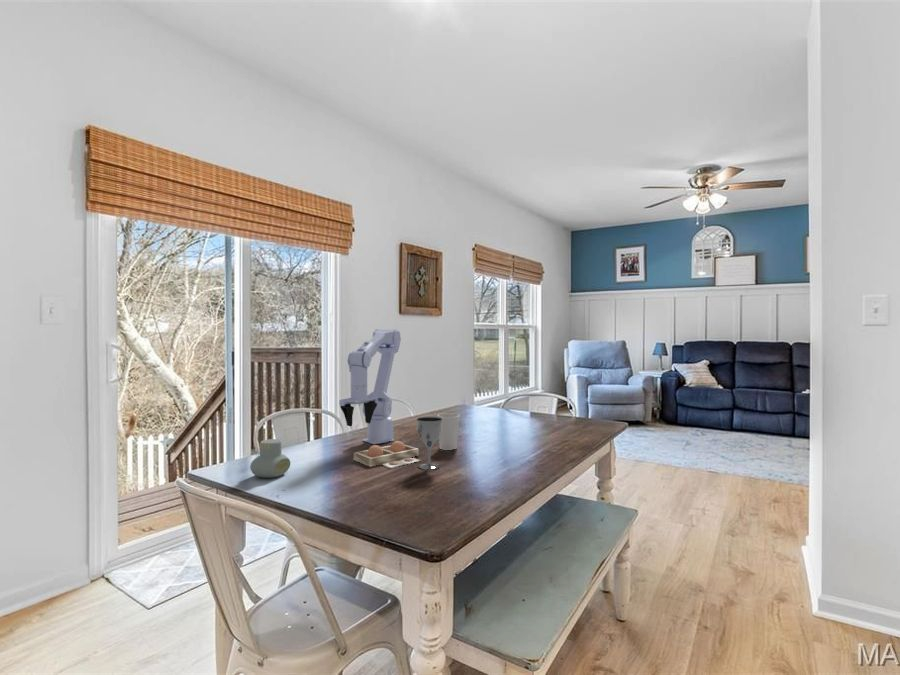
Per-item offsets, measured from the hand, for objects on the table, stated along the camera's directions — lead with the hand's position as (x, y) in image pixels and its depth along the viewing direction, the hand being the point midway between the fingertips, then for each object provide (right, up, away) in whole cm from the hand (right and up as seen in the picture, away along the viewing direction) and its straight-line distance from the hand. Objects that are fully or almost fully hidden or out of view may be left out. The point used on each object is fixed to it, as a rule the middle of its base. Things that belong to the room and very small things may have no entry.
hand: (358, 424), depth 166 cm
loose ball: (+8, -7, -12) cm, 16 cm away
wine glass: (+25, -10, -19) cm, 33 cm away
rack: (+13, -10, -11) cm, 19 cm away
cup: (+31, -10, +5) cm, 33 cm away
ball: (+14, -7, -6) cm, 17 cm away
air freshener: (-20, -10, -28) cm, 36 cm away
